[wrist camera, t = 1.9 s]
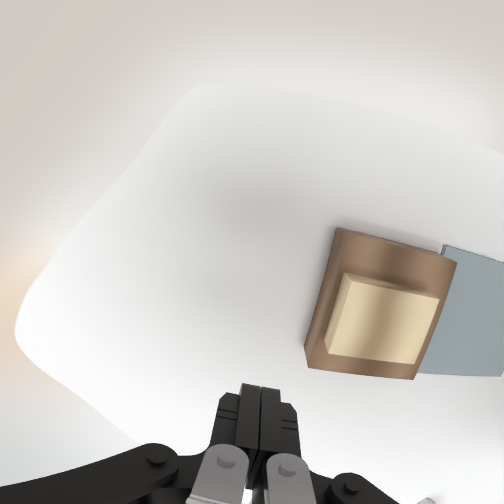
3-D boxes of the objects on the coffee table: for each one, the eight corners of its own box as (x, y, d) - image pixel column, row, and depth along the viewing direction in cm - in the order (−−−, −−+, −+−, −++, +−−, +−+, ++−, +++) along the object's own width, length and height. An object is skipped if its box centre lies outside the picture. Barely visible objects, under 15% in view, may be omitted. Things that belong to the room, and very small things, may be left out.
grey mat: (537, 274, 28) (539, 275, 27) (498, 374, 31) (500, 376, 30) (443, 244, 28) (446, 245, 27) (400, 368, 31) (402, 371, 30)
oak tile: (426, 289, 25) (439, 299, 22) (404, 351, 26) (414, 364, 24) (343, 272, 25) (351, 281, 22) (323, 339, 26) (328, 353, 24)
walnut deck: (437, 253, 28) (457, 262, 24) (400, 360, 31) (413, 379, 27) (336, 227, 28) (347, 233, 24) (303, 346, 31) (308, 367, 27)
